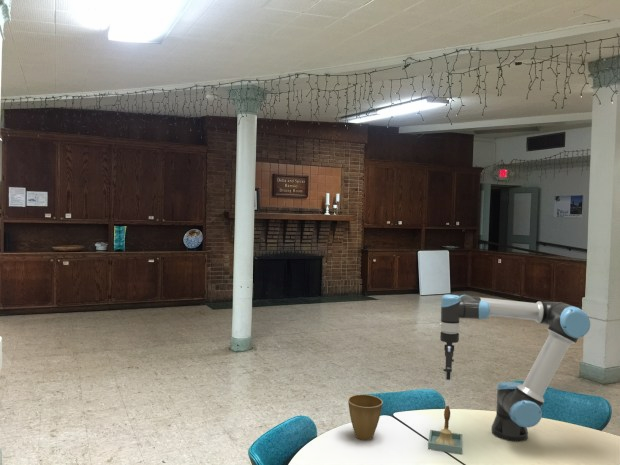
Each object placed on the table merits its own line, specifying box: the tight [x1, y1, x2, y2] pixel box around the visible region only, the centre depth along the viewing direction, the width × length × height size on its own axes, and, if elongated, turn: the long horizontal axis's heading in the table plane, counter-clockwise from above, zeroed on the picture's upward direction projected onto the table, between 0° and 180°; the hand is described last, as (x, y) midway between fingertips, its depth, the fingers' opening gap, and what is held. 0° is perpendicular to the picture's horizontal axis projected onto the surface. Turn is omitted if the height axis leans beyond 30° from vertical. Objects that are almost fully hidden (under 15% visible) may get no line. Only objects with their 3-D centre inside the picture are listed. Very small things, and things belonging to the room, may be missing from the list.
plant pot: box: [347, 393, 384, 441], centre depth 222 cm, size 15×15×16 cm
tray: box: [427, 429, 463, 455], centre depth 216 cm, size 14×14×3 cm
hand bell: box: [436, 405, 456, 446], centre depth 216 cm, size 8×8×16 cm
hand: (448, 381), depth 216 cm, fingers open, 13 cm apart
